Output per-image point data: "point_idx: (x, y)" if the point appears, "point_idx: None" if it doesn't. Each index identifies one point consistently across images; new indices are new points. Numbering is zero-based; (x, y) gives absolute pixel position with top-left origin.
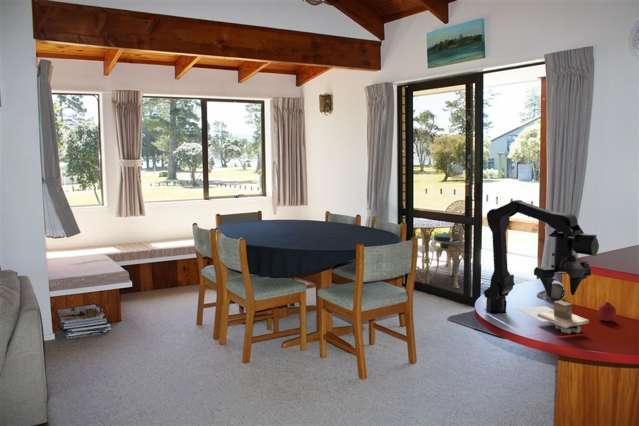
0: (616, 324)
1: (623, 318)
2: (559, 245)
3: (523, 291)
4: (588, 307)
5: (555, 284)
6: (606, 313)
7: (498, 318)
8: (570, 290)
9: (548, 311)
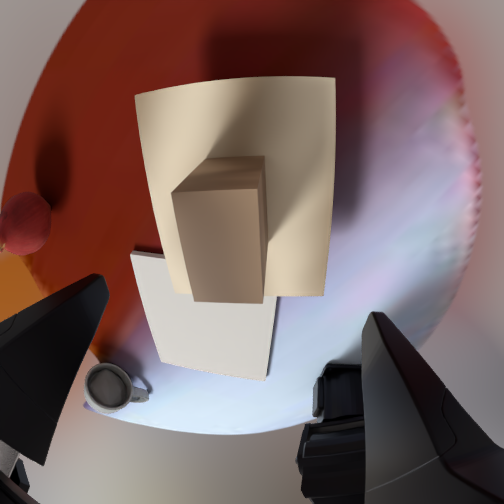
0: (34, 179)
1: None
2: None
3: (161, 415)
4: None
5: (100, 403)
6: (28, 204)
7: None
8: (96, 328)
9: (177, 335)
